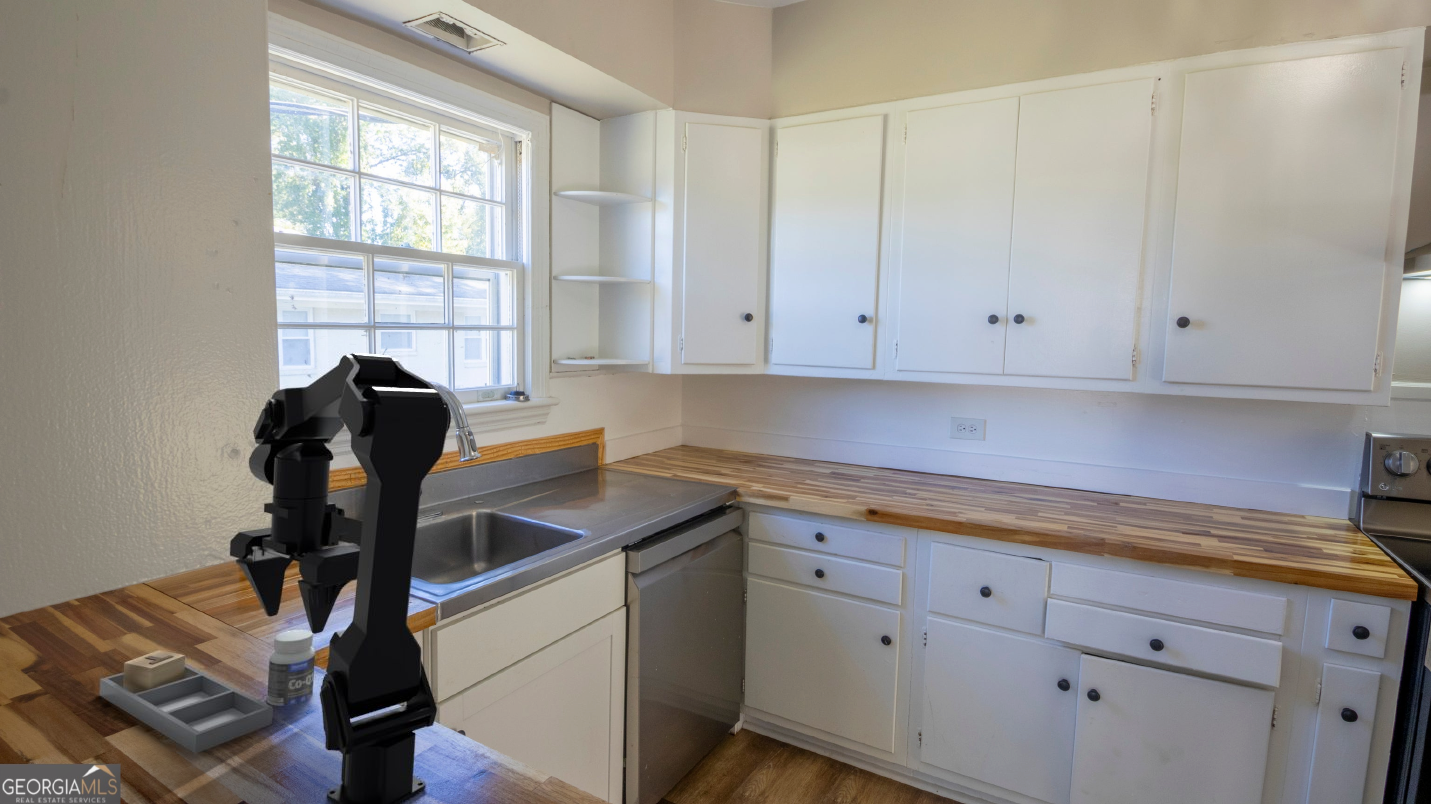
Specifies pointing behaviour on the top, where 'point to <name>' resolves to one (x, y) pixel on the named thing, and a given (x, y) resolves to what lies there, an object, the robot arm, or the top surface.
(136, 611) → the top surface
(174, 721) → the bay dish
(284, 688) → the pill bottle
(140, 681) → the letter cube
